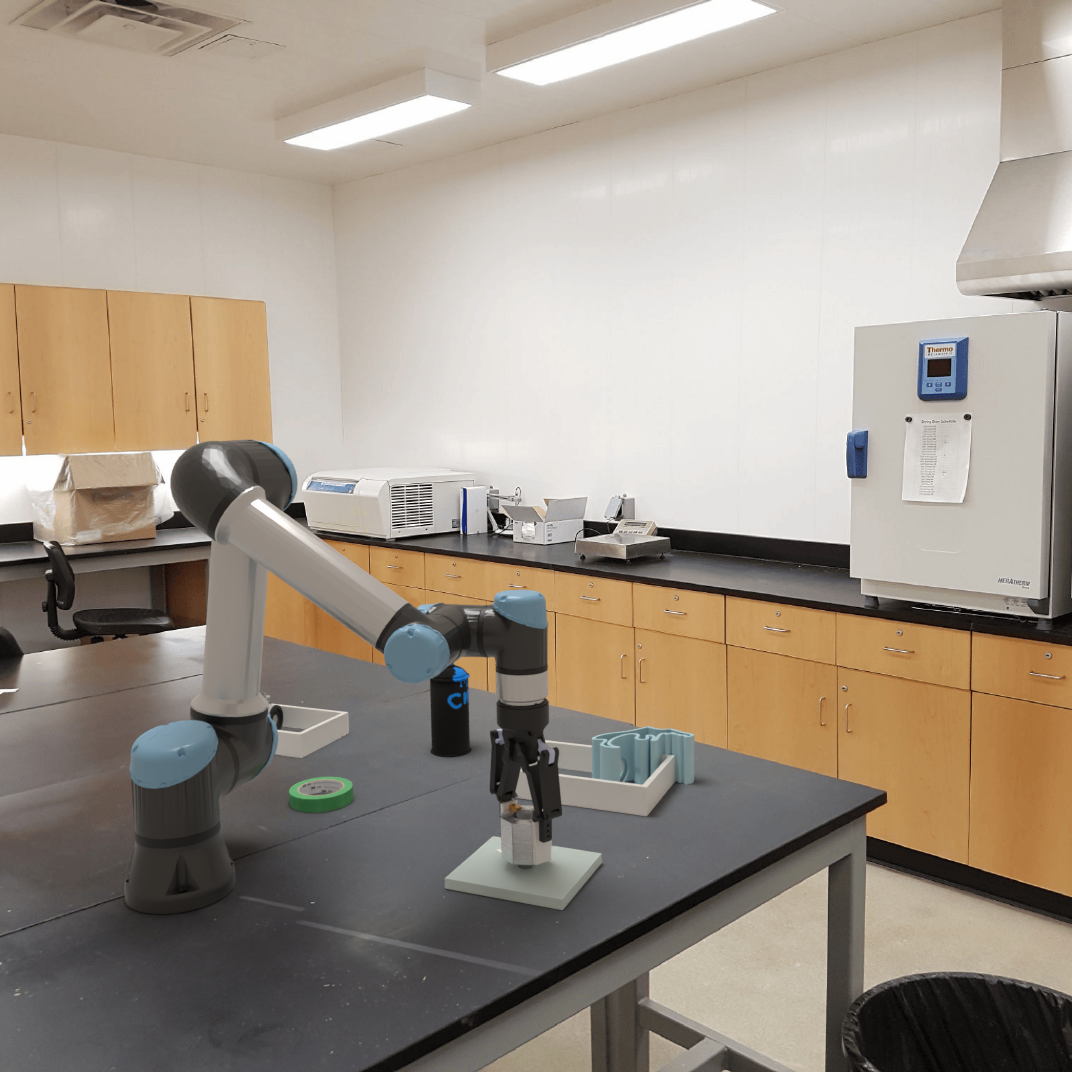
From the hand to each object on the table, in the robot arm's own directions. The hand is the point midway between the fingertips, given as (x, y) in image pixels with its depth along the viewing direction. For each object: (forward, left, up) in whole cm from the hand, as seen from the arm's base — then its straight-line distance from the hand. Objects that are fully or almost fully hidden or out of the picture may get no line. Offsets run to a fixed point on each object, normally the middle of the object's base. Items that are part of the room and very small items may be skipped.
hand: (525, 852), depth 146 cm
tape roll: (+15, +46, -4) cm, 49 cm away
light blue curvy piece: (+43, -4, -4) cm, 43 cm away
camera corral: (+41, +75, -3) cm, 86 cm away
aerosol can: (+47, +37, -4) cm, 60 cm away
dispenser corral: (+37, +3, -3) cm, 37 cm away
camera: (+41, +81, -4) cm, 91 cm away
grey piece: (0, 0, 0) cm, 0 cm away
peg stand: (0, 0, -3) cm, 3 cm away
